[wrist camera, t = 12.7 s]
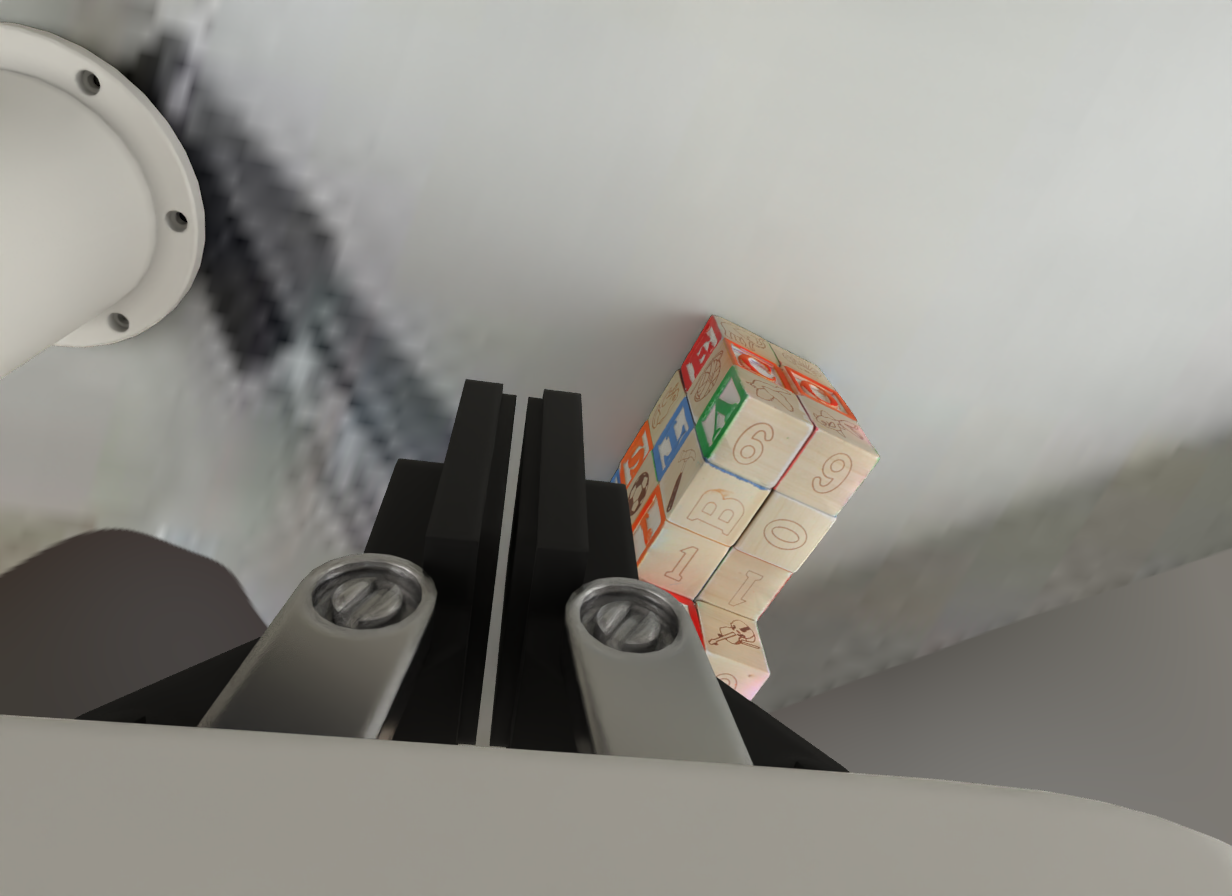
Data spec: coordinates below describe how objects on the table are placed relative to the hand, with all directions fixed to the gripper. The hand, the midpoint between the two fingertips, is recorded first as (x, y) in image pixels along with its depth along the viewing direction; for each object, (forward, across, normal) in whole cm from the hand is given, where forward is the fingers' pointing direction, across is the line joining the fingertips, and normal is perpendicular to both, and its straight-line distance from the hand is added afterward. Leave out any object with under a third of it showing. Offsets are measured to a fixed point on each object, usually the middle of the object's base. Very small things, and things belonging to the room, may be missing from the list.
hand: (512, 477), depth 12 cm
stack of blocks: (+25, -8, +16) cm, 31 cm away
